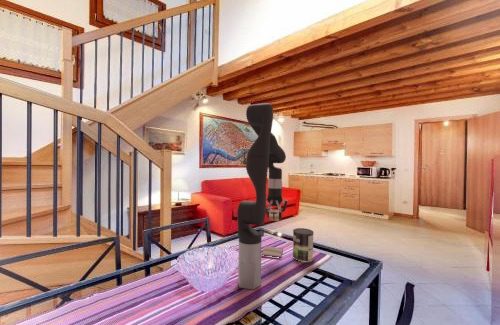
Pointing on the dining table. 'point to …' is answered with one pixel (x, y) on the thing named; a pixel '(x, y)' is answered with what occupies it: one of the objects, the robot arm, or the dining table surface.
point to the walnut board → (272, 252)
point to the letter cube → (274, 214)
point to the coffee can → (303, 244)
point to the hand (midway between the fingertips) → (274, 218)
